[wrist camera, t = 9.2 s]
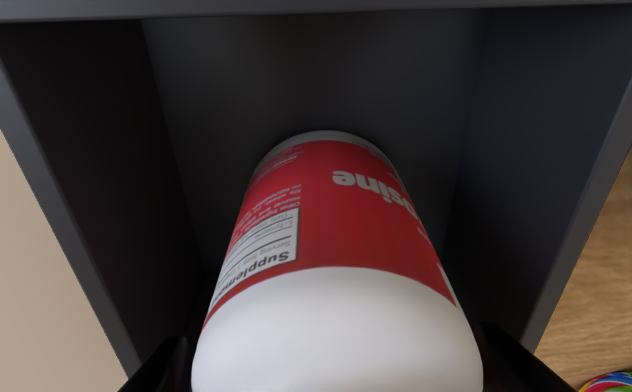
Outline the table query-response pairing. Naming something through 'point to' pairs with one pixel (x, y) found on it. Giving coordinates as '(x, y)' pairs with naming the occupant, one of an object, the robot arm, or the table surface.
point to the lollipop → (610, 383)
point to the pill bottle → (332, 283)
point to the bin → (312, 115)
